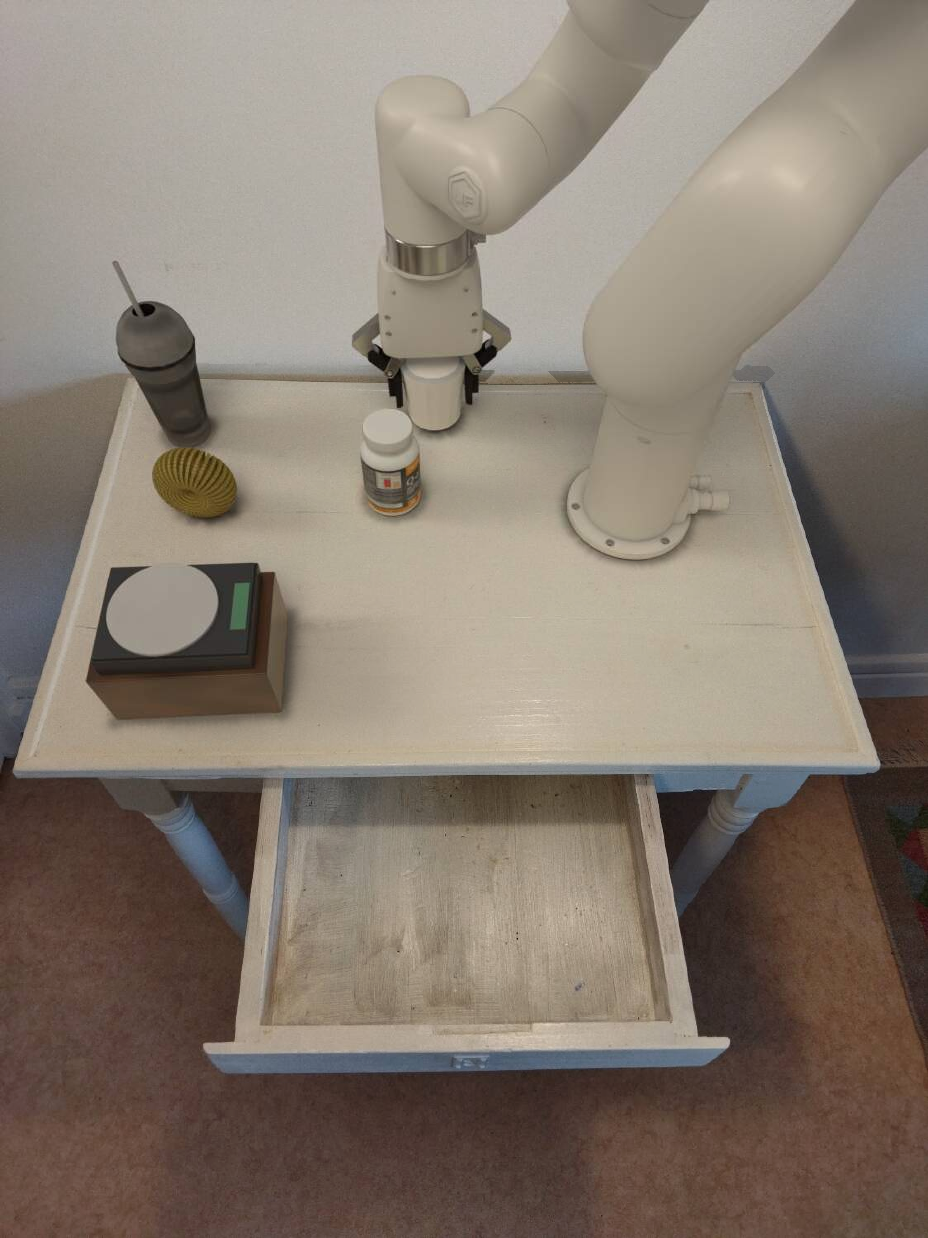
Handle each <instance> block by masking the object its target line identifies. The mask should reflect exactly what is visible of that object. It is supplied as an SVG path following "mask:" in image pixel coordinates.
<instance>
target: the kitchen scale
mask: <svg viewBox="0 0 928 1238" xmlns="http://www.w3.org/2000/svg"><path fill="white" fill-rule="evenodd" d="M261 572H262V570H261V568H260V565H259V563H258V562H232V563H231V562H229V563H204V564H203V563H202V564H183V563H174V562H173V563H171V562H170V563H160V564H156V565H145V566H144V565H142V566H117V567H116V566H113V567H110V570H109V574H108V578H107V581H108V583H107V582H106V585H107V588H106V587H105V590H106V592H105V591H104V595H105V597H104V596H103V599H104V601H103V600H102V604H103V606H102V605H101V608H102V611H101V610H100V613H101V615H100V614H99V618H100V620H99V619H98V622H99V625H98V624H97V627H98V629H97V628H96V632H97V634H96V633H95V636H96V639H95V638H94V641H95V643H94V642H93V645H94V648H93V647H92V650H93V652H92V651H91V655H92V657H91V656H90V659H91V662H90V661H89V664H91V665H92V666H93V668H94V669H95V670H96V671H97V673H98V674H99V675H120V674H143V673H167V672H191V671H214V670H238V669H254V666H255V654H256V643H257V632H258V621H259V609H260V598H261V587H262V574H261Z"/></svg>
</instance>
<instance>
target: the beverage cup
mask: <svg viewBox="0 0 928 1238" xmlns="http://www.w3.org/2000/svg"><path fill="white" fill-rule="evenodd" d="M111 264H112V266H113V268H114V270H115V272H116V275H117V276H118V279H119V281H120V283H121V286H122V287H123V289H124V291H125V293H126V295H127V298H128V300H129V301H130V303H131V305H130V306H128V307H127V308H126V309H125V310H124V311H123V312H122V314H121V315H120V317H119V319H118V321H117V323H116V330H115V343H116V348H117V355H118V357H119V359H120V361H121V362H122V363H123V364H124V365H125V368H126V369H127V370H128V371H129V373H130V374H131V375H132V376H133V377H134V379H135V381H136V382H137V385H138V386H139V388H140V390H141V392H142V394H143V396H144V398H145V399H146V401H147V403H148V405H149V407H150V409H151V411H152V413H153V414H154V416H155V418H156V420H157V422H158V424H159V426H160V427H161V430H162V432H163V433H164V434H165V435H166V437H167V439H168V441H169V443H170V444H172V445H173V446H175V447H176V448H182V447H188V448H195V447H197V446H199V445H201V444H202V443H204V442H205V441H206V440H207V439H208V438H209V435H210V433H211V428H210V425H209V414H208V411H207V407H206V406H207V405H206V401H205V397H204V392H203V388H202V381H201V378H200V373H199V368H198V364H197V351H196V337H195V335H194V334H193V332H192V330H191V329H190V327H189V325H188V323H187V322H186V320H185V318H183V316H182V315H181V314H180V313H179V312H178V311H176V310H175V309H174V308H172V307H171V306H169V305H167V304H165V303H162V302H158V301H153V300H144V301H139V302H138V300H137V299H136V296H135V294H134V292H133V290H132V288H131V286H130V284H129V282H128V280H127V278H126V276H125V273H124V271H123V270H122V267H121V264H119V261H118V260H113V261H112V262H111Z"/></svg>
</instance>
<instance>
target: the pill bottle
mask: <svg viewBox="0 0 928 1238" xmlns="http://www.w3.org/2000/svg"><path fill="white" fill-rule="evenodd" d="M359 446H360V447H359V456H360V457H359V458H360V463H361V471H362V481H363V487H364V494H365V495H364V496H365V498H366V503H367V504H368V506H370V508H371V509H372V510H373V511H375V512H376V513H378V514H380V515H383V516H390V517H396V516H401V515H405V514H407V513H409V512H411V511H412V510H414V508H415V507H416V506H417V505H418V504H419V502H420V499H421V495H422V493H421V491H422V487H421V486H422V485H421V462H420V461H421V457H420V456H421V455H420V444H419V441H418V439H417V437H416V435H415V434H414V425H413V421H412V419H411V417H410V416H408V414H406V413H405V412H403V411H401V410H398V409H394V408H381V409H378V410H375V411H373V412H371V413H370V414H369V415H368V416H366V417H365V419H364V421H363V423H362V441H361V442H360V445H359Z"/></svg>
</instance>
